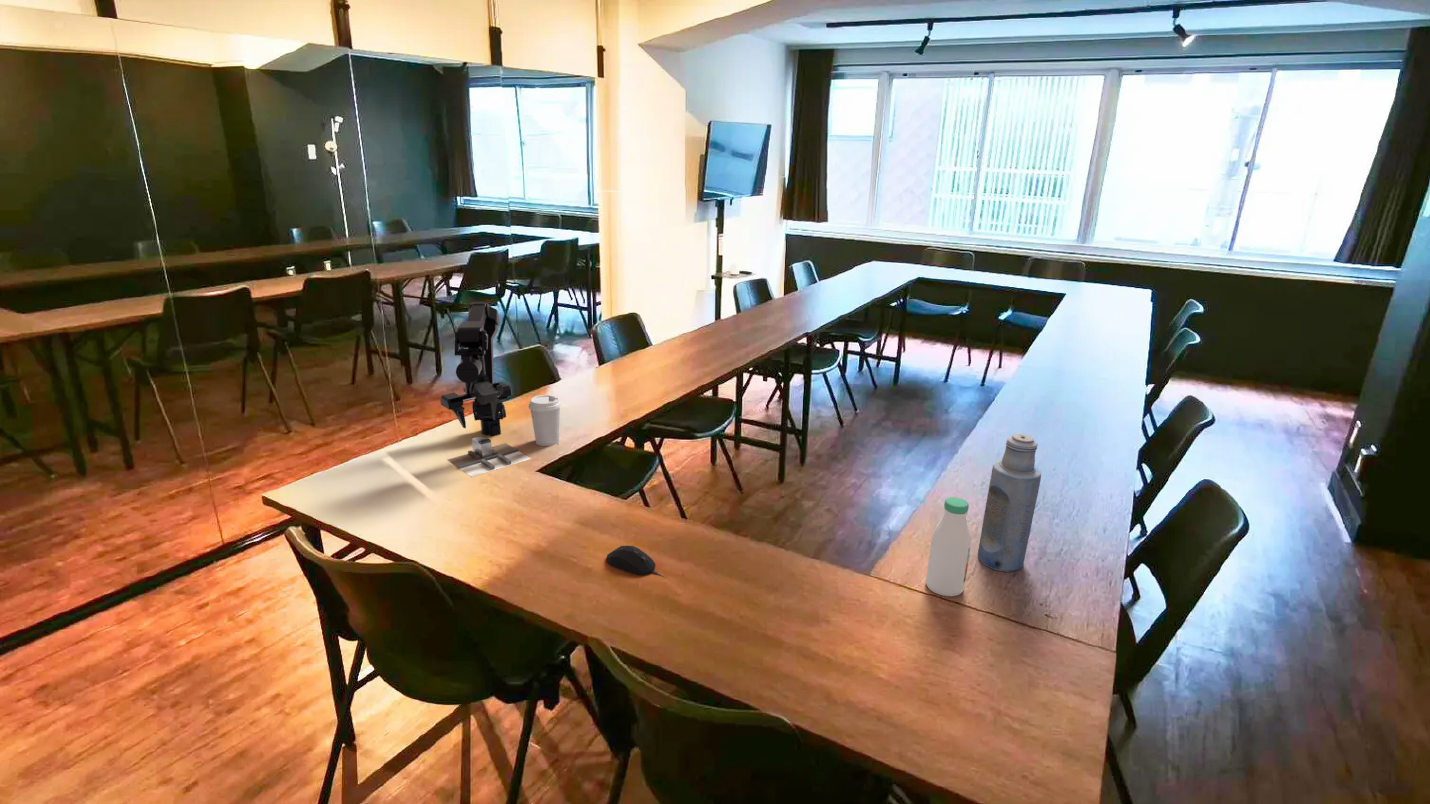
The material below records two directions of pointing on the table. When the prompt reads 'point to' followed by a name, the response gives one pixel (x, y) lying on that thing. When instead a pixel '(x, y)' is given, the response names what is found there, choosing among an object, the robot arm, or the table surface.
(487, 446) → the white rectangular block
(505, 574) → the table surface
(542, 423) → the coffee cup
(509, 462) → the ribbed grey tray
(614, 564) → the gaming mouse
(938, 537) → the milk bottle
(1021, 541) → the bottle
